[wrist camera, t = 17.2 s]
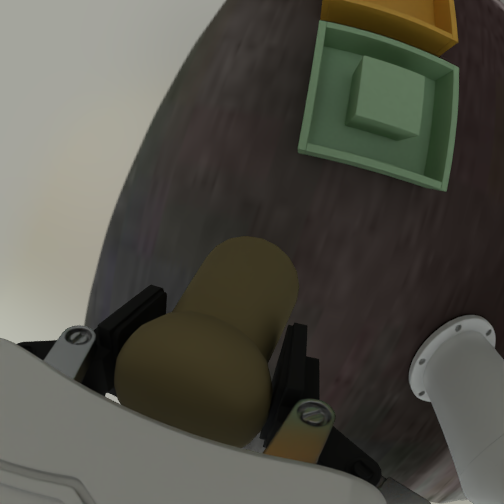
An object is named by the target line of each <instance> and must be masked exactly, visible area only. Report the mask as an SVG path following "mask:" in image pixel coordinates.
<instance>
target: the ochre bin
mask: <svg viewBox="0 0 504 504" xmlns="http://www.w3.org/2000/svg"><path fill="white" fill-rule="evenodd" d="M321 20H325V21H330V22H335V23H339V24H344V25H348V26H352V27H356V28H360V29H363V30H367V31H370V32H374V33H377V34H380V35H383V36H387V37H390V38H393V39H395V40H398V41H401V42H404V43H406V44H409V45H412V46H414V47H417V48H419V49H422V50H424V51H426V52H429V53H431V54H433V55H436V56H438V57H439V56H440V55H442V54H443V53H444V52H446V51H447V50H448V49H450V48H451V47H452V46H454V45H455V44H456V43H458V34H457V23H456V15H455V7H454V0H322V10H321Z"/></svg>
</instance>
